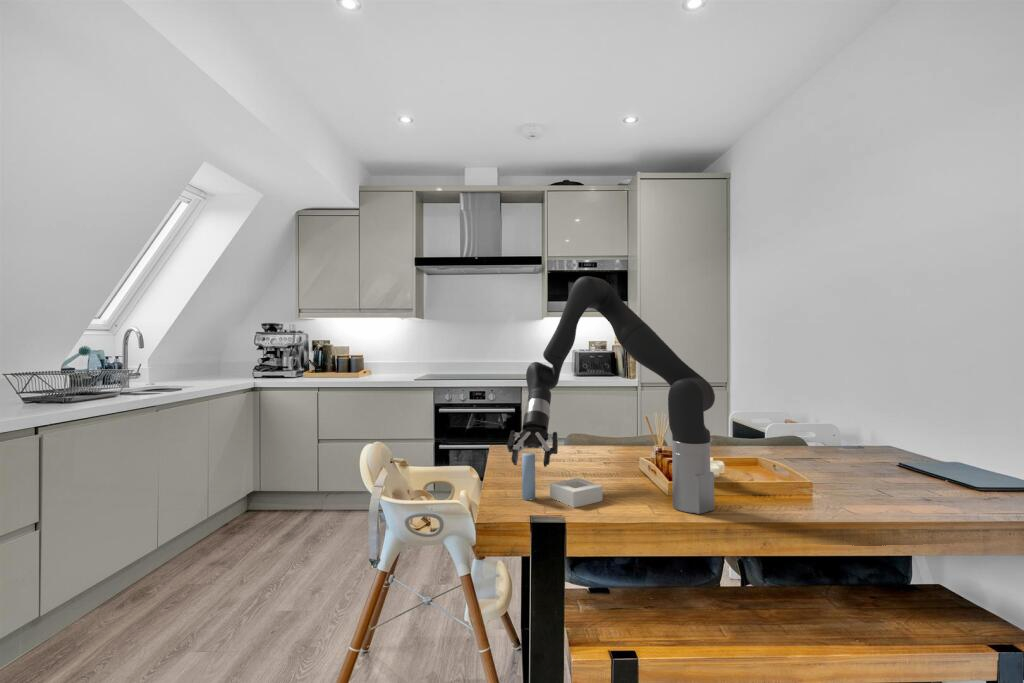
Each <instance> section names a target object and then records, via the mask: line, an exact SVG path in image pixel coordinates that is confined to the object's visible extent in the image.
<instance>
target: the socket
mask: <svg viewBox="0 0 1024 683" xmlns="http://www.w3.org/2000/svg"><path fill="white" fill-rule="evenodd" d="M549 498H550V499H551V498H553V499H552V500H554V499H555V500H554V501H556V500H557V502H559V501H560V502H559V503H561V502H562V504H563V503H564V505H566V506H568V505H569V507H571V508H578V507H582V506H586V505H587V506H588V505H590V504H595V503H598V502H603V485H601V484H598V483H594V482H592V481H588V480H587V479H582V478H579V477H576V478H570V479H566V480H560V481H556V482H551V483H549Z"/></svg>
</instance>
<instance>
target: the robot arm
mask: <svg viewBox="0 0 1024 683" xmlns="http://www.w3.org/2000/svg"><path fill="white" fill-rule="evenodd" d="M570 289H571V290H570V292H569V295H568V298H567V301H566V303H565V305H564V306H565V307H564V308H563V310H562V314H561V317H560V319H559V322H558V324H557V327H556V328H555V330H554V332H553V334H552V336H551V338H550V339H549V342H548V344H547V346H546V347H545V349H544V351H543V352H542V355H543V358H544V360H545V361H546V362H548V363H549V364H551V365H552V367H551V366H549V365H546V364H544V363H542V362H539V361H534V362H532V363H531V364H529V365H528V366H527V369H526V374H525V377H526V384H527V390H528V392H527V393H528V396H527V402H526V406H525V410H524V416H523V420H522V428H521V431H519V432H515V430H514V429H513V430H510V433H509V437H508V440H507V441H508V442H507V444H506V447H507V450H508V452H509V453H512V454H511V463H512V464H513V465H514V466H517V465H518V459H519V453H520V452H521V451H524V450H525V449H526V448H529V449H531V448H534V449H539V448H540V449H541V450H542V451H543V452H544V456H543V462H542V463H543V467H545V468H548V465H550V461H551V455H557V454H558V453H559V452H558V448H559V447H558V446H559V438H558V437H559V436H558V432H557V431H553V432H552V433H549V422H550V418H551V415H550V414H551V409H550V408H551V401H552V400H551V399H552V393H551V390H552V389H554V388H555V387H557V385H558V383H559V380H560V375H561V371H562V367H563V366H564V362H565V361H566V359H567V357H568V355H569V354H570V352H571V350H572V348H573V347H574V344H575V341H576V335H577V334H576V333H577V329H578V328H577V327H578V325H579V321H580V319H581V318H582V316H583V314H584V313H585V312H586V311H587V310H588V309H593V310H596V311H597V313H599V314H601V315H602V317H604V318H605V320H607V322H609V324H610V325H611V327H612V331H613V333H614V334H615V338H616V340H617V341H618V343H619V345H620V346H621V347H622V349H624V350H625V351H626V352H627V354H628V355H629V356H631V358H632V359H633V360H635V362H638V364H640V365H642V366H643V367H645V368H646V369H648V370H650V371H651V372H653V373H654V374H656V375H658V376H659V377H661V378H662V379H663V380H664V381H665V382H666V383H667V384H668V385H669V387H670V388H669V390H668V395H667V408H668V410H667V411H668V412H667V413H668V424H669V425H668V426H669V430H670V432H671V435H672V436H671V437H672V438H671V440H672V442H671V444H672V446H671V448H672V449H671V451H672V452H671V454H672V456H671V457H672V458H671V459H672V462H671V464H672V465H671V467H672V468H671V470H672V507H673V509H676V510H678V511H681V512H685V513H691V514H693V513H694V514H697V515H701V514H705V513H708V512H711V511H714V510H715V473H714V471H711V432H710V430H709V428H707V427H706V425H705V417H704V416H705V414H704V412H706V411H708V410H710V409H711V408H712V407H713V406H714V404H715V401H716V394H715V390H714V388H713V387H712V385H711V383H710V382H708V380H707V379H705V377H702V376H701V375H700V374H699V373H698V372H697V371H695V369H693V368H691V367H690V366H689V365H688V364H686V362H684V361H683V360H682V359H681V358H680V357H679V356H678V355H677V354H676V353H675V352H674V350H673V349H671V347H670V346H669V345H667V344H666V342H665V341H664V339H662V338H661V337H660V335H658V334H657V333H656V331H654V330H653V329H652V328H651V327H650V326H649V325H648V324H647V323H646V322H645V321H644V320H642V318H641V317H640V316H639V315H638V314H637V313H636V312H634V310H632V309H631V308H630V307H629V306H628V305H627V304H626V303H625V302H624V301H623V299H621V297H620V296H619V294H618V293H617V291H616V290H614V288H613V287H612V285H610V283H608V281H606V280H605V279H602V278H599V277H594V276H588V275H586V276H585V275H584V276H581V277H578V279H576V280H575V282H574V284H573V285H572V288H570ZM518 438H520V439H519V440H518V441H517V439H518ZM549 439H550V442H552V447H549V446H550V445H548V444H547V441H548V440H549ZM516 441H517V443H516V444H515V442H516Z"/></svg>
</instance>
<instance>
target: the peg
mask: <svg viewBox="0 0 1024 683" xmlns="http://www.w3.org/2000/svg"><path fill="white" fill-rule="evenodd" d="M521 483H522V484H521V492H522V493H521V495H522V497H521V498H523V499H525V500H524V501H531V500H530V499H534V500H536V453H532V452H527V453H525V452H524V453H522V454H521ZM523 499H522V500H523Z"/></svg>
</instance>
